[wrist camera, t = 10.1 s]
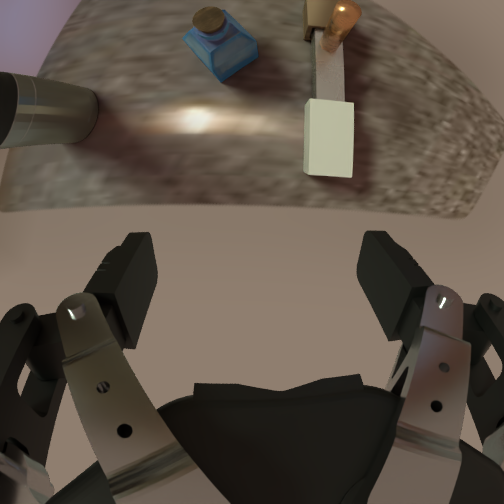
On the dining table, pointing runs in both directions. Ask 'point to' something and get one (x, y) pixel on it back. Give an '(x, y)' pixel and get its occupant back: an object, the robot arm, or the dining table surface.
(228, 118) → the dining table surface
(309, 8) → the socket block
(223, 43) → the perfume bottle
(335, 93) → the grey bar with post
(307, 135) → the pale white block
